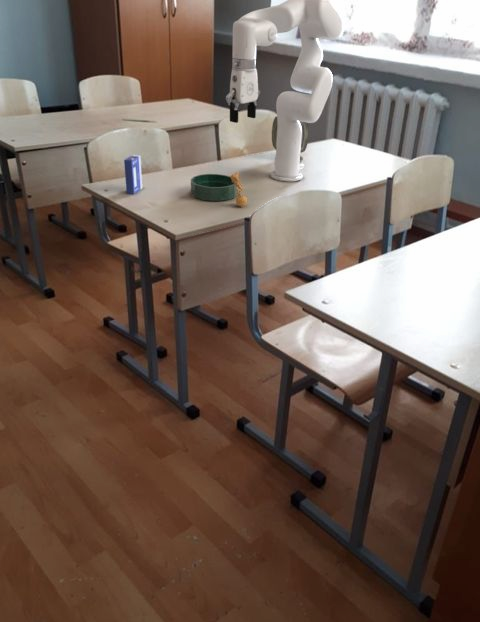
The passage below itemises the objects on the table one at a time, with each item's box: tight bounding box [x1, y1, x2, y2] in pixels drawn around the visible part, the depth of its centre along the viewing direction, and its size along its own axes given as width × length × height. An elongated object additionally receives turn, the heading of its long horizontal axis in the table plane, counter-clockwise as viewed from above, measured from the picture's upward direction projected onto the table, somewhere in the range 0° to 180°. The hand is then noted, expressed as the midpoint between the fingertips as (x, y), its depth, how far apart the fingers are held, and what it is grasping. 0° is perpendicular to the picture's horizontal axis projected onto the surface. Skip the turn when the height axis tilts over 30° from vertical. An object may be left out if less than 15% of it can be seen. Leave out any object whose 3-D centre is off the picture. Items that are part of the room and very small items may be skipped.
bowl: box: [190, 173, 238, 202], centre depth 212 cm, size 16×16×5 cm
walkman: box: [123, 154, 143, 195], centre depth 209 cm, size 8×3×12 cm, turn 167°
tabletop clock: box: [271, 115, 310, 161], centre depth 253 cm, size 14×9×25 cm, turn 102°
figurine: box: [230, 171, 248, 208], centre depth 201 cm, size 8×6×12 cm
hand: (242, 119), depth 202 cm, fingers open, 9 cm apart
